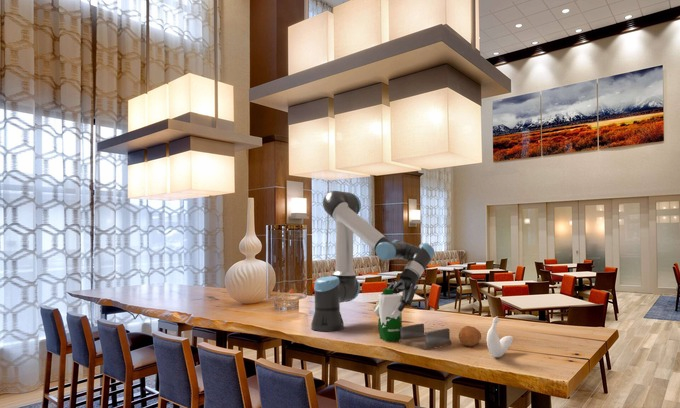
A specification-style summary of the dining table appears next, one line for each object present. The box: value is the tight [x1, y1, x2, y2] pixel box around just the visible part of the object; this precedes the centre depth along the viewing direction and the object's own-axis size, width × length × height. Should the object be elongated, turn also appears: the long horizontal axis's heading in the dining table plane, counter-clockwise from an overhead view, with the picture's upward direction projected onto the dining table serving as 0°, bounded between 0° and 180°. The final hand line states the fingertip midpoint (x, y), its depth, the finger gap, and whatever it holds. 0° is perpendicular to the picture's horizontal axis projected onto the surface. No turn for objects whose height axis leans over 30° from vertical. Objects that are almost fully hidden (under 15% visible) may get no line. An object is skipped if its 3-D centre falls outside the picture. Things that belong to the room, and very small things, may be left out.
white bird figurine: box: [486, 316, 514, 359], centre depth 148 cm, size 5×19×15 cm, turn 146°
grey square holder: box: [398, 323, 452, 351], centre depth 168 cm, size 14×14×6 cm
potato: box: [458, 325, 483, 348], centre depth 165 cm, size 7×13×7 cm, turn 142°
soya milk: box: [377, 288, 403, 342], centre depth 177 cm, size 9×9×20 cm
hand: (384, 315), depth 175 cm, fingers open, 10 cm apart
